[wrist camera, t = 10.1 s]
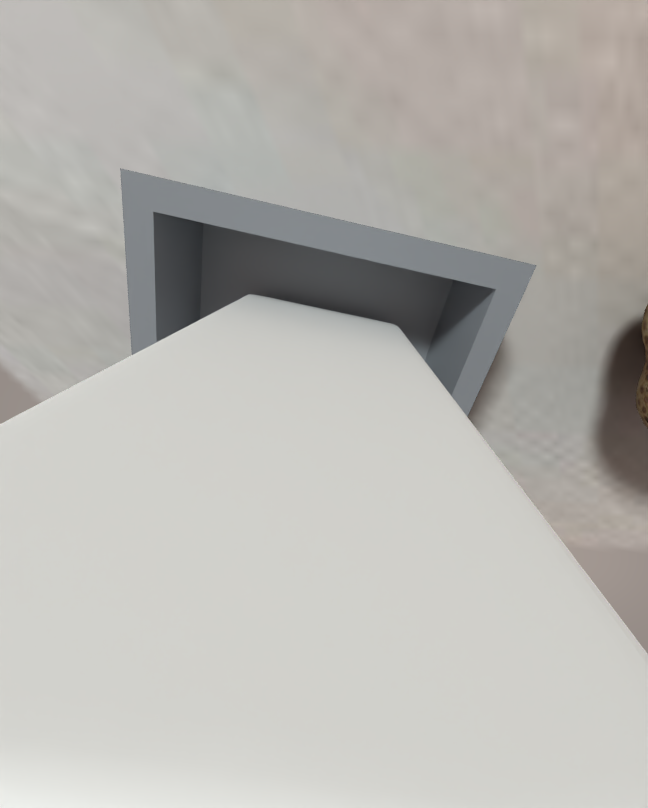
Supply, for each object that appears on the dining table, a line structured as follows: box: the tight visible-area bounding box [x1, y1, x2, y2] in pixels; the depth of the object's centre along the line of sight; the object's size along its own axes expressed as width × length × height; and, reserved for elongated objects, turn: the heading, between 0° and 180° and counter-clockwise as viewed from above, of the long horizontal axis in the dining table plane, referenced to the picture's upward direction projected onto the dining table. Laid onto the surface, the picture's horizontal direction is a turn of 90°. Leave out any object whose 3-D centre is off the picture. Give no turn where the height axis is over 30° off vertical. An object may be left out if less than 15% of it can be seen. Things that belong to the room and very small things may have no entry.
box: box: [120, 168, 536, 417], centre depth 16 cm, size 14×14×5 cm
